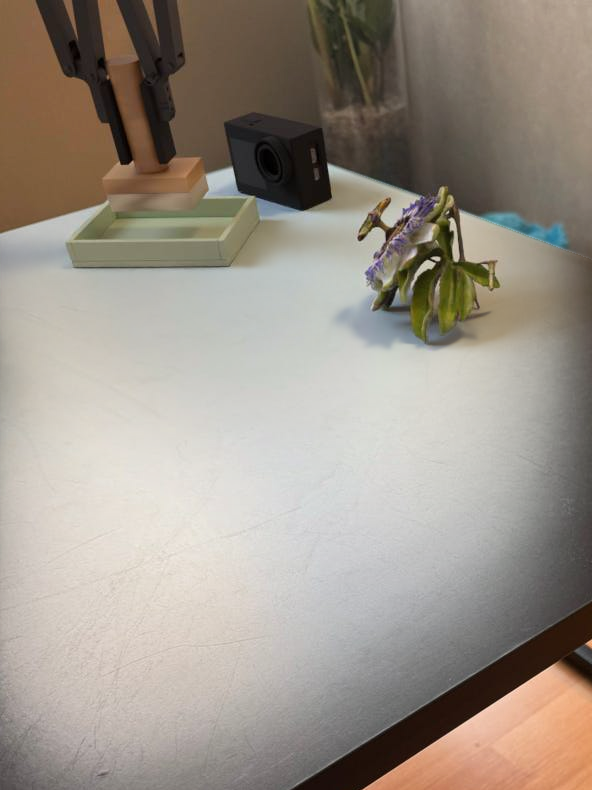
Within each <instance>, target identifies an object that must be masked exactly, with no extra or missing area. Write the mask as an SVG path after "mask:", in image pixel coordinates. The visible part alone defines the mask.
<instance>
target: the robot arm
mask: <svg viewBox="0 0 592 790" xmlns="http://www.w3.org/2000/svg"><path fill="white" fill-rule="evenodd" d="M115 1H116V3H117V6H118V9H119V11H120V14H121V17H122V19H123V22H124V24H125V27H126V30H127V33H128V35H129V38H130V40H131V43H132V45H133V48H134V50H135V54H136V56H138V59H139V61H140V64H141V66H142V69H143V72H144V74H145V78H144V79H143V81H144V82H143V83H141V84H140V85H139V87H140V91H141V95H142V99H143V103H144V107H145V110H146V114H147V118H148V122H149V126H150V130H151V134H152V138H153V141H154V145H155V149H156V153H157V157H158V161H159V164H168V163H169V162H170V161H171V160H172V159H173V158H175V157H176V156H177V150H176V145H175V141H174V138H173V134H172V129H171V126H170V125H171V124H170V122H171V121H172V120H173V119H174V118H175V117H176V112H177V111H176V107H175V106H176V105H175V102H174V99H173V98H174V97H173V94H172V90H171V85H170V80H169V78H170V76H171V75H174V74H176V73H177V72H178V71H180V70H181V69H182V68H183V67H184V66H185V65H186V63H187V62H186V61H187V60H186V53H185V47H184V39H183V33H182V25H181V20H180V13H179V6H178V0H151V1H152V6H153V13H154V19H155V24H156V25H155V26H156V31H157V32H156V33H157V34H156V33H155V30H154V27H153V24H152V22H151V18H150V16H149V13H148V11H147V8H146V5H145V2H144V0H115ZM35 3H36V5H37V9H38V11H39V13H40V16H41V19H42V21H43V24H44V27H45V30H46V32H47V35H48V38H49V40H50V43H51V46H52V48H53V50H54V53H55V56H56V59H57V61H58V64H59V66H60V69H61V72H62V73H63V75H64V76H65V77H66V78H71V79H72V78H75V79H78V80H80V81H83V82H85V83H86V84H87V86H88V88H89V92H90V94H91V98H92V102H93V105H94V109H95V112H96V115H97V118H98V121H100V123H101V124H108V127H109V128H110V132H111V136H112V140H113V143H114V147H115V150H116V154H117V157H118V162H119V161H120V165H129V164H130V163H131V162H132V161H133V159H132V155H131V152H130V148H129V145H128V141H127V138H126V134H125V131H124V127H123V124H122V120H121V117H120V113H119V109H118V106H117V102H116V99H115V95H114V92H113V88H112V85H111V81H110V78H109V77H108V76H109V74H108V71H107V67H106V64H105V62H106V61H107V56H106V50H105V44H104V42H105V41H104V35H103V29H102V23H101V22H102V21H101V15H100V8H99V7H100V6H99V3H98V0H71V5H72V11H73V17H74V23H75V28H74V26H73V23H72V21H71V17H70V15H69V12H68V9H67V6H66V4H65V1H64V0H35ZM157 37H158V38H157Z"/></svg>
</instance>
